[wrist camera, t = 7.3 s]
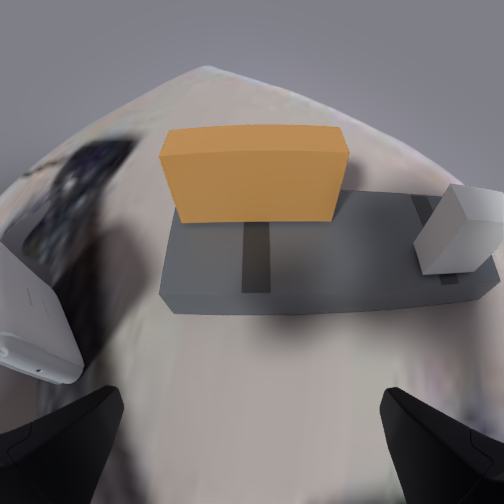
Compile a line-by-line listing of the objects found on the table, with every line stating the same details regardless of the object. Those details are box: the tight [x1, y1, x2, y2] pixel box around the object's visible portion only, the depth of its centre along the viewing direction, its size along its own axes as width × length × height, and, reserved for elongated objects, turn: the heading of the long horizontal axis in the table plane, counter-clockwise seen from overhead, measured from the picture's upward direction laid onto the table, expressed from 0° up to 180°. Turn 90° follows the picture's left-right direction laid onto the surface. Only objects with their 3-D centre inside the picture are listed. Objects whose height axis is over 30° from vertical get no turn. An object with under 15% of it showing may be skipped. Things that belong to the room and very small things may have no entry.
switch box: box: [159, 190, 500, 315], centre depth 24 cm, size 10×30×4 cm, turn 89°
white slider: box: [413, 184, 504, 275], centre depth 17 cm, size 3×6×7 cm, turn 90°
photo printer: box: [0, 242, 84, 384], centre depth 17 cm, size 10×4×12 cm, turn 39°
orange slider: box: [159, 125, 349, 223], centre depth 21 cm, size 3×12×7 cm, turn 90°
